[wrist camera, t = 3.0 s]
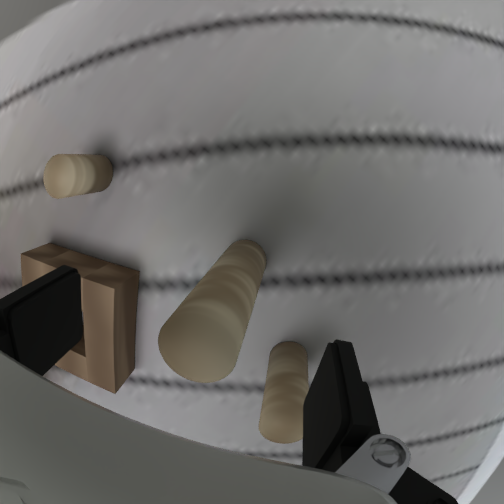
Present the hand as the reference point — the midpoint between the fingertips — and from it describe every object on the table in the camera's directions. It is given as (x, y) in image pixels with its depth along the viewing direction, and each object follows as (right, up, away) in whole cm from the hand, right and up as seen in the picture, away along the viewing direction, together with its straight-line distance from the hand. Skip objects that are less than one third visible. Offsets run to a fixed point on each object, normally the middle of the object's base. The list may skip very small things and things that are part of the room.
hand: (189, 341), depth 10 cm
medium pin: (+5, -5, +14) cm, 15 cm away
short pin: (-10, +9, +12) cm, 18 cm away
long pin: (+2, +2, +12) cm, 12 cm away
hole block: (-13, -2, +15) cm, 20 cm away
